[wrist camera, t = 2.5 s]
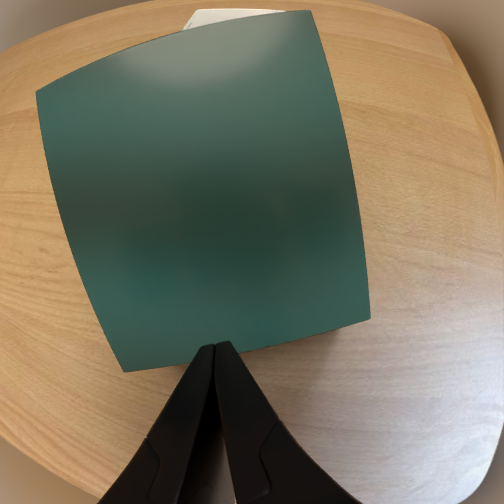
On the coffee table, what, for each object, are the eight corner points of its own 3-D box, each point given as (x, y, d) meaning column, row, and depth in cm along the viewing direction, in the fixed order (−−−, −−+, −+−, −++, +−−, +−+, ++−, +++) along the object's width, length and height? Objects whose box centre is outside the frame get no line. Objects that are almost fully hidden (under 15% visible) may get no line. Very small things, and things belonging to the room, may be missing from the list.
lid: (43, 93, 11) (34, 91, 10) (306, 16, 11) (310, 8, 10) (127, 364, 15) (123, 373, 14) (365, 311, 15) (371, 319, 14)
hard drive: (176, 37, 31) (276, 37, 29) (197, 8, 34) (285, 8, 32) (179, 46, 33) (276, 47, 31) (199, 17, 35) (286, 18, 33)
